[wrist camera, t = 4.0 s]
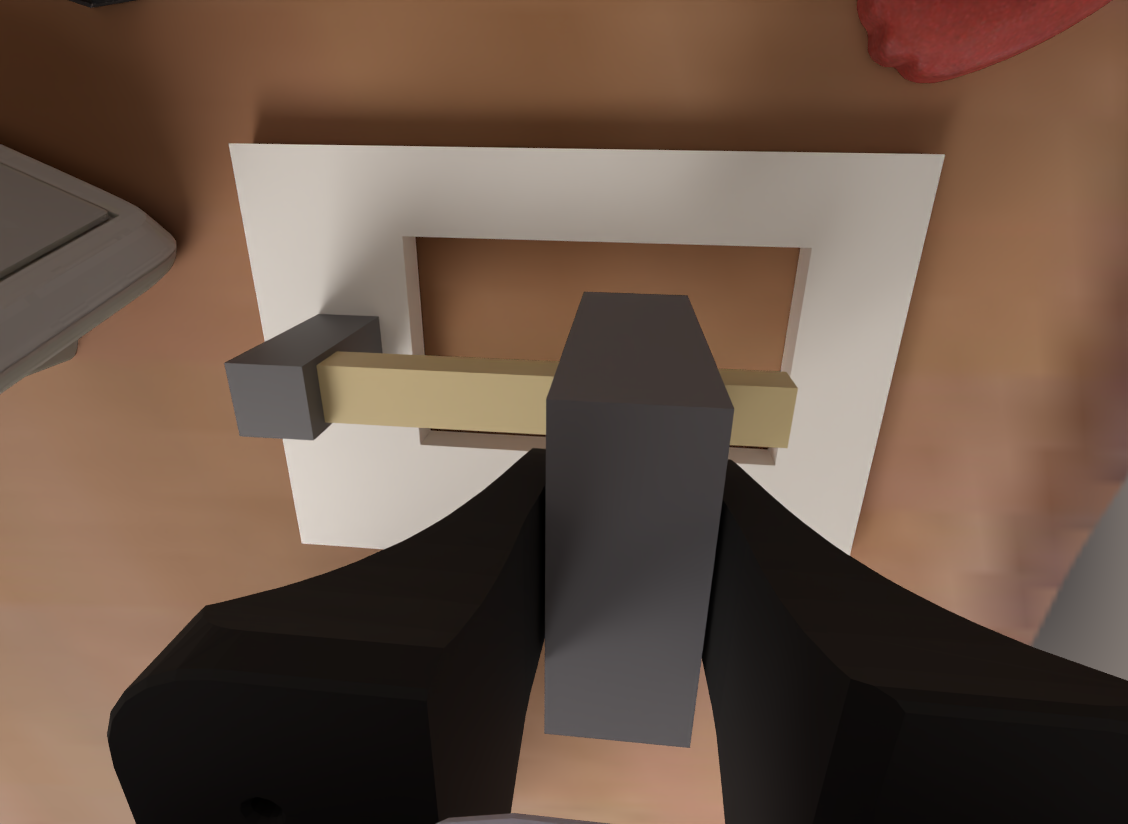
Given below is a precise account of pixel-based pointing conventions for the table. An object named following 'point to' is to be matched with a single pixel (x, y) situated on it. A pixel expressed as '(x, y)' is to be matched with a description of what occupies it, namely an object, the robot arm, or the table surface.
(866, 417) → the white slotted board
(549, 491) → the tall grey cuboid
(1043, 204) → the table surface
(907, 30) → the stacking bear
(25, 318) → the digital clock
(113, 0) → the ammunition clip
